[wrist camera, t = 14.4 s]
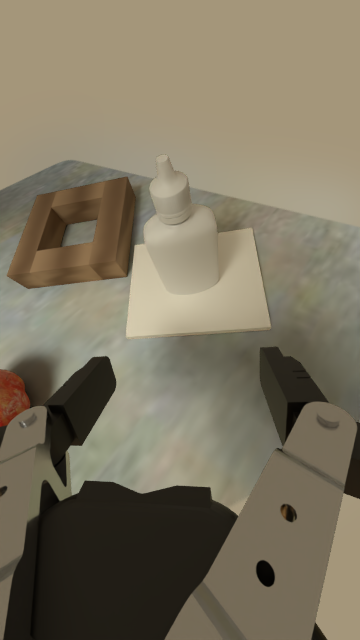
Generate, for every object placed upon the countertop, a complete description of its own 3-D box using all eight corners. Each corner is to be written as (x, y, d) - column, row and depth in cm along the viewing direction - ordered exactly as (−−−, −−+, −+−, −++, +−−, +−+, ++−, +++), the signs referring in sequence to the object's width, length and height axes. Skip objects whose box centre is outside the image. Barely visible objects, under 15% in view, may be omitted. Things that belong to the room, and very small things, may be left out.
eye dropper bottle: (175, 259, 23) (134, 133, 13) (223, 269, 22) (225, 133, 11) (160, 292, 22) (101, 182, 11) (210, 305, 20) (197, 191, 10)
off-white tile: (128, 339, 22) (125, 337, 21) (137, 249, 26) (134, 245, 25) (269, 330, 19) (271, 327, 18) (251, 233, 24) (252, 227, 23)
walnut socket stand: (28, 288, 27) (6, 275, 24) (52, 213, 33) (37, 195, 30) (127, 276, 25) (115, 260, 22) (135, 197, 30) (127, 176, 28)
